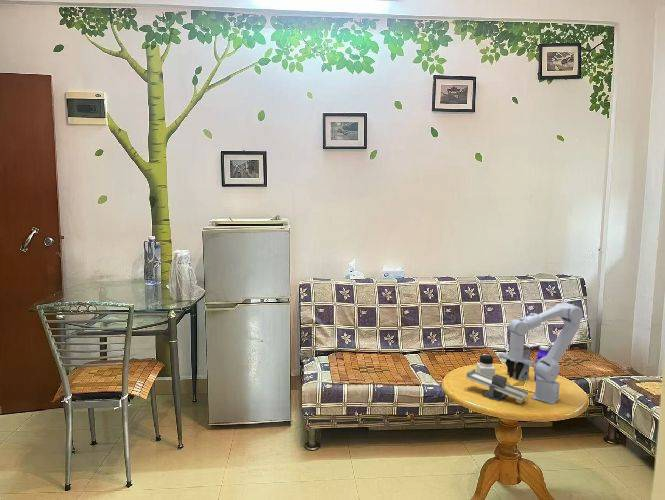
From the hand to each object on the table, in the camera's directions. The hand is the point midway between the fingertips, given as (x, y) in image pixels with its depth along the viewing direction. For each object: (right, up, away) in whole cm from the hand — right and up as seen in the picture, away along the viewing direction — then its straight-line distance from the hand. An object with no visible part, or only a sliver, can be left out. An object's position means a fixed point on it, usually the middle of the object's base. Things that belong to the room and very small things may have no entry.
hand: (514, 377), depth 231 cm
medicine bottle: (-5, -7, +26) cm, 27 cm away
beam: (-6, -7, +6) cm, 12 cm away
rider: (-5, -5, +5) cm, 9 cm away
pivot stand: (-6, -10, +7) cm, 13 cm away
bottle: (+22, -8, +25) cm, 34 cm away
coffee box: (+12, -7, +30) cm, 34 cm away
